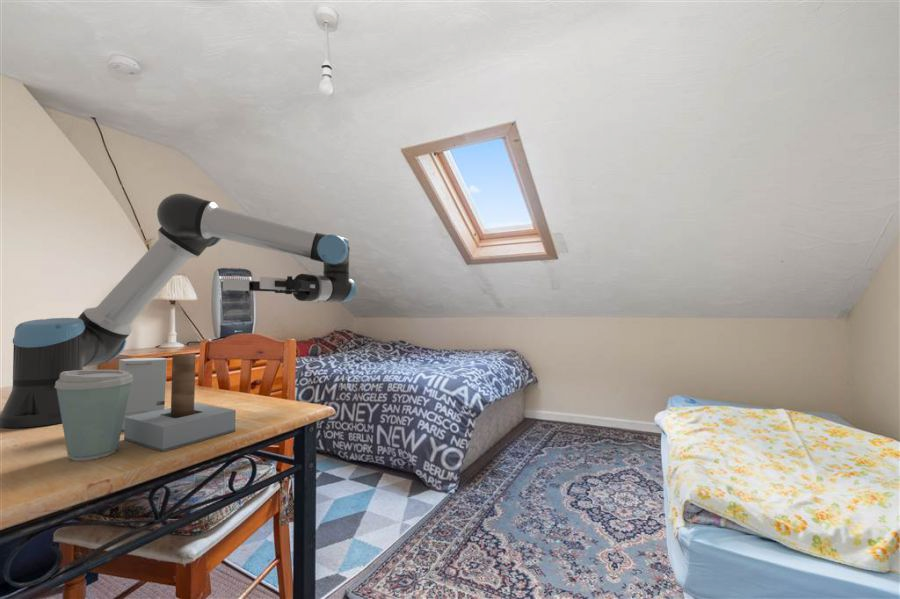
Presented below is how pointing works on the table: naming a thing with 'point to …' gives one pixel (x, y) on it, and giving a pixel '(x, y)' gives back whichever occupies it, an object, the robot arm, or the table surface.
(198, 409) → the bore block
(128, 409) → the skincare box
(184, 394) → the walnut dowel
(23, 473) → the table surface
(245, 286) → the robot arm
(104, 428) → the disposable coffee cup
